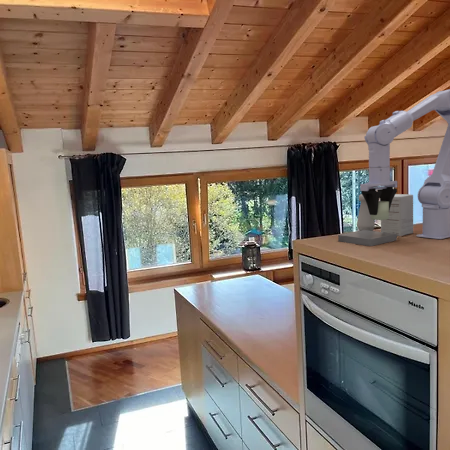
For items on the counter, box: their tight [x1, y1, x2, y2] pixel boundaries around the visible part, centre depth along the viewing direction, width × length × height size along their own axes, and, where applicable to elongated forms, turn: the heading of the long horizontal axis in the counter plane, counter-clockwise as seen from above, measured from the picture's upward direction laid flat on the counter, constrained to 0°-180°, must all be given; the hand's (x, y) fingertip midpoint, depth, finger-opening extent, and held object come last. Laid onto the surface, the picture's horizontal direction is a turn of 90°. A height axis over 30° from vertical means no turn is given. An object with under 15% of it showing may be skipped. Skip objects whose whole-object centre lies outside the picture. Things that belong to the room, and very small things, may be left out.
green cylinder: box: [371, 200, 389, 221], centre depth 127 cm, size 5×5×5 cm
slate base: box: [337, 230, 398, 247], centre depth 131 cm, size 12×12×2 cm
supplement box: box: [380, 193, 414, 237], centre depth 140 cm, size 7×7×13 cm
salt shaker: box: [356, 194, 376, 231], centre depth 147 cm, size 6×6×13 cm
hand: (379, 213), depth 127 cm, fingers closed on green cylinder, 5 cm apart
